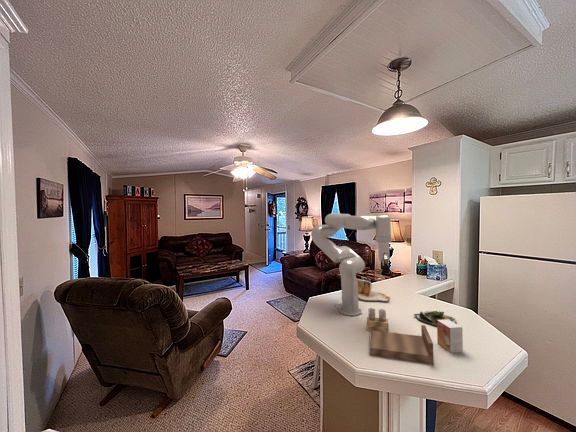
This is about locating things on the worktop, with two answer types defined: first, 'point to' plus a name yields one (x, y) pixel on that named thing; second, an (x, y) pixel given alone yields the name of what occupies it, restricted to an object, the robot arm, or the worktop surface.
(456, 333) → the small box
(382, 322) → the salt and pepper set
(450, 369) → the worktop surface
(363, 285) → the religious ornament
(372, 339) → the walnut shelf
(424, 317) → the salad plate
